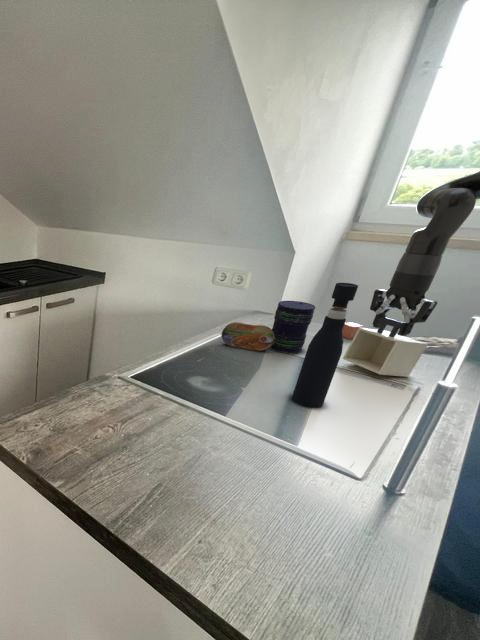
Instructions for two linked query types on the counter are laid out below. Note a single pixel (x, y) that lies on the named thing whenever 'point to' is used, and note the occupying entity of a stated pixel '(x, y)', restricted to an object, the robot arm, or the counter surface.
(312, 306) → the storage jar
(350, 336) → the block
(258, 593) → the counter surface
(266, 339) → the tin
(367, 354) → the bin
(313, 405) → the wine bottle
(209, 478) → the counter surface
